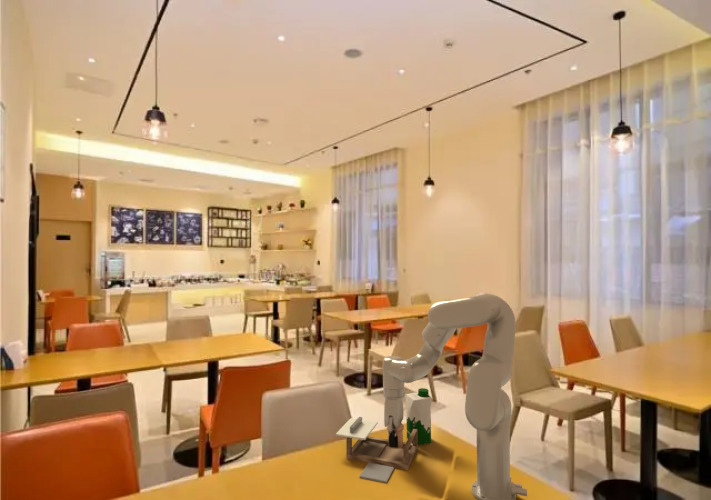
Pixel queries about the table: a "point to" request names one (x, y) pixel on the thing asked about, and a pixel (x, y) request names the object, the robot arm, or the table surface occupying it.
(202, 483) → the table surface
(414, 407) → the milk carton
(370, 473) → the trivet
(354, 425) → the lid
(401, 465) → the wooden frame crate
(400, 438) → the peach rounded knob
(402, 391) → the robot arm
